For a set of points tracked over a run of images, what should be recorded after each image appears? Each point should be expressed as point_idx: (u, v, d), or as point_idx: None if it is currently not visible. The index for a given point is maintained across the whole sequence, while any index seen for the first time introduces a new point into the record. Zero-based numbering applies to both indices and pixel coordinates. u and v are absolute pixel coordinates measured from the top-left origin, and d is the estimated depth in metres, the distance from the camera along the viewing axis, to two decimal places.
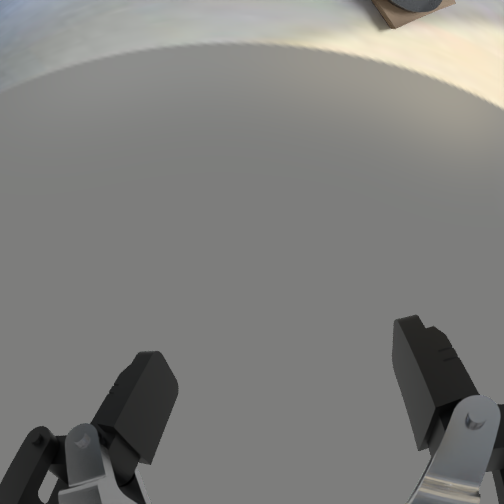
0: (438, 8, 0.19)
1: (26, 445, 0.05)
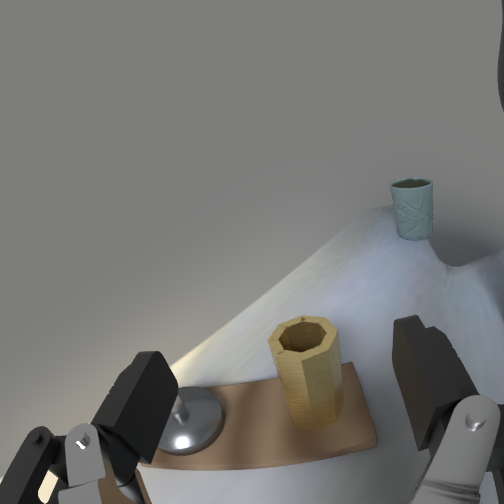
0: None
1: (26, 445, 0.05)
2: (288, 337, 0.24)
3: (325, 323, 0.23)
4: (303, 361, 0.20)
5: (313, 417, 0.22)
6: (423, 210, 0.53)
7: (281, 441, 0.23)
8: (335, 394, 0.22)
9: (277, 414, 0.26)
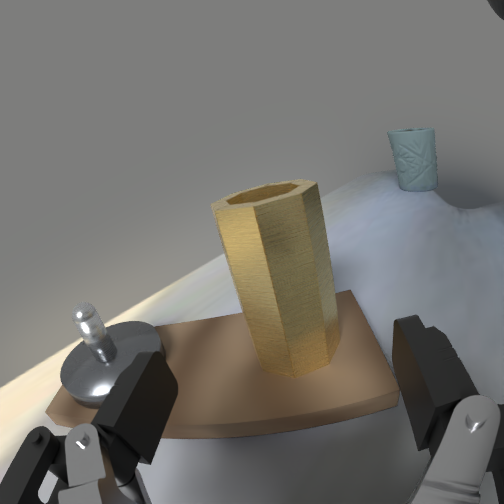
0: None
1: (26, 445, 0.05)
2: None
3: (299, 181, 0.15)
4: (257, 210, 0.12)
5: (288, 348, 0.15)
6: (426, 156, 0.45)
7: (238, 394, 0.15)
8: (323, 305, 0.15)
9: (238, 356, 0.18)
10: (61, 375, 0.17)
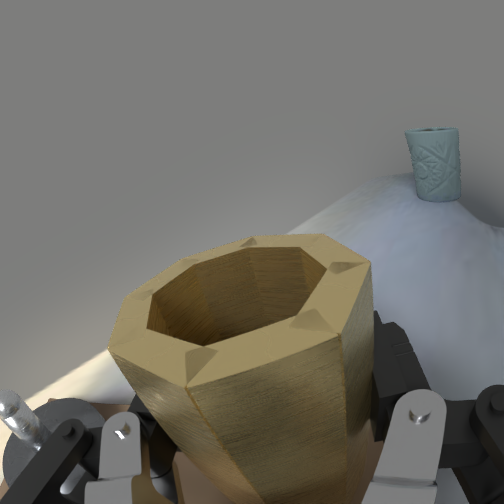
0: None
1: (55, 437, 0.06)
2: (206, 299, 0.08)
3: (321, 245, 0.07)
4: (200, 392, 0.04)
5: None
6: (450, 161, 0.36)
7: None
8: (350, 474, 0.06)
9: None
10: (3, 463, 0.08)
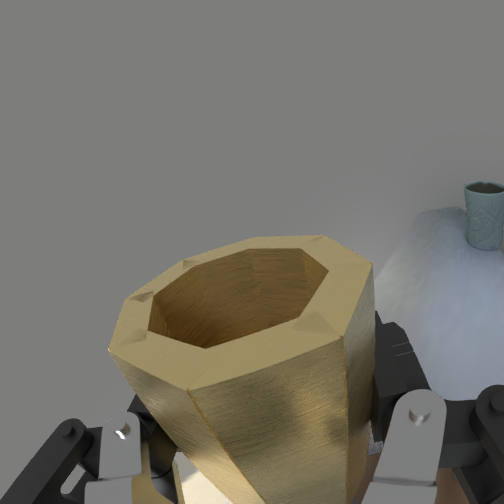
0: None
1: (55, 437, 0.06)
2: (207, 301, 0.08)
3: (323, 247, 0.07)
4: (202, 395, 0.04)
5: None
6: (499, 218, 0.39)
7: None
8: (351, 475, 0.06)
9: None
10: None
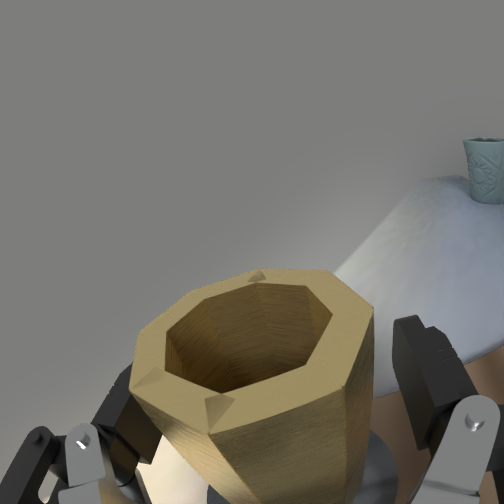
0: None
1: (26, 445, 0.05)
2: (216, 330, 0.08)
3: (327, 286, 0.07)
4: (220, 436, 0.04)
5: None
6: (502, 169, 0.36)
7: None
8: (349, 487, 0.06)
9: None
10: None
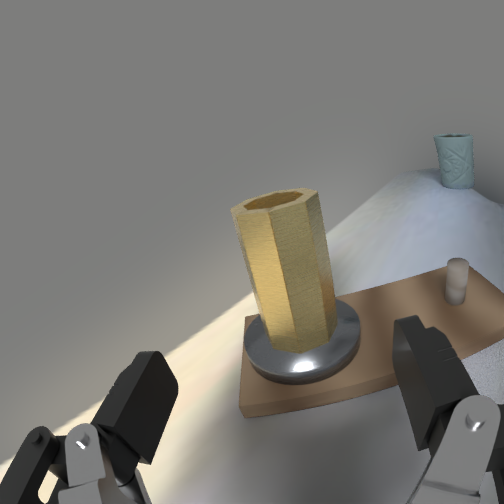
0: (243, 371, 0.21)
1: (26, 445, 0.05)
2: None
3: (303, 190, 0.19)
4: (271, 215, 0.16)
5: (295, 327, 0.18)
6: (467, 159, 0.48)
7: None
8: (323, 290, 0.18)
9: (419, 311, 0.21)
10: (256, 359, 0.19)
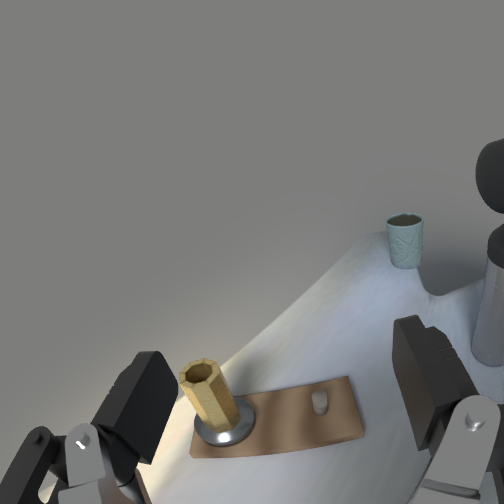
0: (193, 435, 0.36)
1: (26, 445, 0.05)
2: (195, 371, 0.35)
3: (215, 366, 0.34)
4: (193, 389, 0.31)
5: (213, 424, 0.33)
6: (413, 244, 0.63)
7: (297, 433, 0.33)
8: (225, 411, 0.33)
9: (294, 414, 0.36)
10: (198, 433, 0.35)
